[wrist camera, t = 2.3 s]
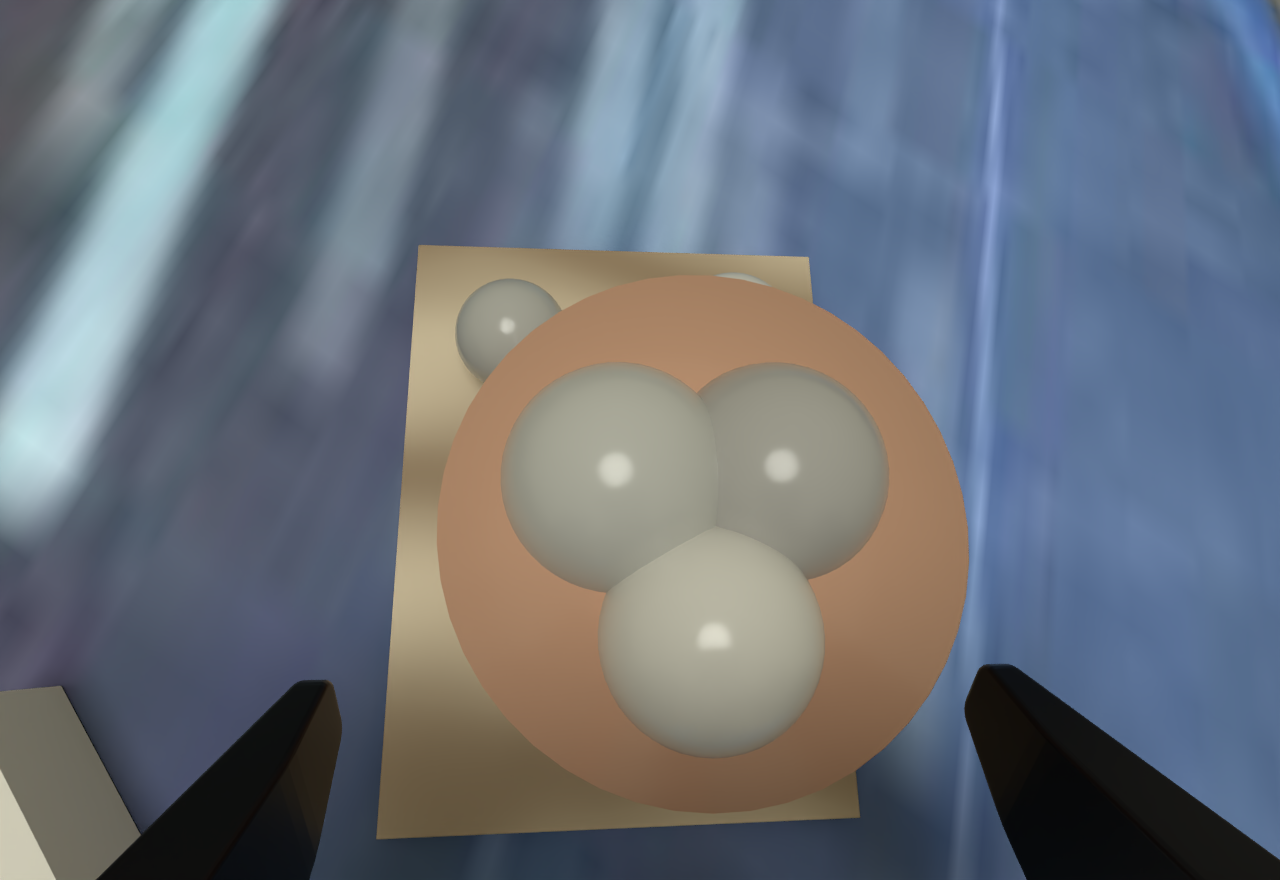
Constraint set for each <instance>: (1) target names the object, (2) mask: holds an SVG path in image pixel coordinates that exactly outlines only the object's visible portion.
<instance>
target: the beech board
mask: <svg viewBox="0 0 1280 880" xmlns="http://www.w3.org/2000/svg"><path fill="white" fill-rule="evenodd" d="M729 272H737V273H745V274H749V275H752V276H755V277H757V278H759V279H761V280H763V281H765V282H766V283H768V284H769V285H771V286H772V287H774V288H776V289H779V290H782V291H784V292H787V293H789V294H792V295H795V296H797V297H800V298H803V299H804V300H806V301H808V302H810V303H812V304H813V300H812V289H811V278H810V267H809V257H787V256H755V255H722V254H690V253H658V252H625V251H593V250H561V249H528V248H496V247H464V246H431V245H419V249H418V263H417V277H416V291H415V305H414V319H413V333H412V347H411V361H410V375H409V389H408V403H407V417H406V431H405V445H404V459H403V473H402V487H401V501H400V515H399V529H398V543H397V557H396V571H395V585H394V599H393V613H392V627H391V641H390V655H389V669H388V683H387V697H386V711H385V725H384V739H383V753H382V767H381V781H380V795H379V809H378V823H377V837H376V839H394V838H417V837H439V836H461V835H483V834H506V833H528V832H550V831H572V830H595V829H617V828H639V827H661V826H684V825H706V824H728V823H750V822H773V821H795V820H817V819H839V818H860V811H859V801H858V790H857V779H856V771H854V772H853V773H851V774H849V775H847V776H846V777H844V778H842V779H840V780H838V781H837V782H835V783H833V784H831V785H830V786H828V787H826V788H824V789H822V790H820V791H817V792H815V793H812V794H809V795H807V796H804V797H801V798H799V799H796V800H794V801H791V802H788V803H785V804H780V805H776V806H771V807H767V808H762V809H758V810H753V811H744V812H730V813H716V814H709V813H696V812H682V811H672V810H668V809H663V808H659V807H655V806H650V805H646V804H641V803H637V802H634V801H631V800H629V799H626V798H623V797H621V796H618V795H615V794H613V793H610V792H607V791H605V790H602V789H600V788H598V787H596V786H594V785H592V784H591V783H589V782H587V781H585V780H583V779H582V778H580V777H578V776H576V775H574V774H572V773H571V772H569V771H567V770H565V769H564V768H563V767H561V766H560V765H559V764H557V763H556V762H555V761H553V760H552V759H551V758H549V757H548V756H547V755H545V754H544V753H543V752H541V751H540V750H539V749H537V748H536V747H535V746H533V745H532V744H531V743H530V742H529V741H528V740H527V739H526V738H525V737H524V736H523V735H522V734H521V733H520V732H519V731H518V730H517V729H516V728H515V727H514V726H513V725H512V724H511V723H510V722H509V721H508V720H507V719H506V717H505V716H504V715H503V713H502V712H501V711H500V709H499V708H498V707H497V706H496V704H495V703H494V702H493V700H492V699H491V698H490V696H489V695H488V694H487V692H486V691H485V690H484V688H483V687H482V685H481V683H480V682H479V680H478V678H477V676H476V675H475V673H474V671H473V669H472V667H471V666H470V664H469V662H468V660H467V658H466V657H465V655H464V653H463V651H462V648H461V646H460V643H459V640H458V638H457V635H456V633H455V630H454V628H453V625H452V623H451V620H450V618H449V614H448V609H447V605H446V601H445V597H444V593H443V589H442V585H441V581H440V571H439V561H438V552H437V517H438V503H439V497H440V491H441V485H442V479H443V473H444V469H445V466H446V463H447V460H448V456H449V453H450V450H451V447H452V443H453V440H454V438H455V435H456V433H457V431H458V429H459V427H460V425H461V422H462V420H463V418H464V416H465V414H466V411H467V409H468V407H469V406H470V404H471V402H472V401H473V399H474V398H475V396H476V395H477V393H478V391H479V390H480V388H481V387H482V385H483V384H484V383H483V382H482V381H480V380H479V379H477V378H476V377H475V376H474V375H473V374H472V373H471V372H470V371H469V370H468V369H467V367H466V366H465V364H464V363H463V361H462V359H461V357H460V355H459V353H458V350H457V346H456V340H455V326H456V320H457V317H458V314H459V311H460V309H461V307H462V305H463V304H464V302H465V301H466V299H467V298H468V297H469V296H470V295H471V294H472V293H473V292H474V291H475V290H477V289H478V288H480V287H481V286H483V285H485V284H487V283H489V282H492V281H495V280H499V279H506V278H514V279H521V280H525V281H528V282H531V283H534V284H536V285H538V286H540V287H541V288H543V289H544V290H545V291H547V292H548V293H549V294H550V295H551V296H552V297H553V298H554V299H555V301H556V302H557V303H558V305H559V306H560V308H561V310H564V309H566V308H568V307H570V306H571V305H573V304H575V303H577V302H579V301H581V300H583V299H585V298H587V297H589V296H592V295H594V294H597V293H600V292H602V291H605V290H608V289H610V288H613V287H616V286H619V285H623V284H628V283H632V282H636V281H640V280H644V279H649V278H658V277H667V276H676V275H711V276H713V275H717V274H721V273H729Z"/></svg>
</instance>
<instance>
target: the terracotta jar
mask: <svg viewBox="0 0 1280 880" xmlns="http://www.w3.org/2000/svg"><path fill="white" fill-rule="evenodd" d="M437 552H438V561H439V571H440V581H441V585H442V589H443V593H444V597H445V601H446V605H447V609H448V614H449V618H450V620H451V623H452V625H453V628H454V630H455V633H456V635H457V638H458V640H459V643H460V646H461V648H462V651H463V653H464V655H465V657H466V658H467V660H468V662H469V664H470V666H471V667H472V669H473V671H474V673H475V675H476V676H477V678H478V680H479V682H480V683H481V685H482V687H483V688H484V690H485V691H486V692H487V694H488V695H489V696H490V698H491V699H492V700H493V702H494V703H495V704H496V706H497V707H498V708H499V709H500V711H501V712H502V713H503V715H504V716H505V717H506V719H507V720H508V721H509V722H510V723H511V724H512V725H513V726H514V727H515V728H516V729H517V730H518V731H519V732H520V733H521V734H522V735H523V736H524V737H525V738H526V739H527V740H528V741H529V742H530V743H531V744H532V745H533V746H535V747H536V748H537V749H539V750H540V751H541V752H543V753H544V754H545V755H547V756H548V757H549V758H551V759H552V760H553V761H555V762H556V763H557V764H559V765H560V766H561V767H563V768H564V769H565V770H567V771H569V772H571V773H572V774H574V775H576V776H578V777H580V778H582V779H583V780H585V781H587V782H589V783H591V784H592V785H594V786H596V787H598V788H600V789H602V790H605V791H607V792H610V793H613V794H615V795H618V796H621V797H623V798H626V799H629V800H631V801H634V802H637V803H641V804H646V805H650V806H655V807H659V808H663V809H668V810H672V811H682V812H696V813H709V814H716V813H730V812H744V811H753V810H758V809H762V808H767V807H771V806H776V805H780V804H785V803H788V802H791V801H794V800H796V799H799V798H801V797H804V796H807V795H809V794H812V793H815V792H817V791H820V790H822V789H824V788H826V787H828V786H830V785H831V784H833V783H835V782H837V781H838V780H840V779H842V778H844V777H846V776H847V775H849V774H851V773H853V772H854V771H856V770H857V769H858V768H860V767H861V766H862V765H864V764H865V763H866V762H867V761H869V760H870V759H871V758H873V757H874V756H875V755H876V754H878V753H879V752H880V751H882V750H883V749H884V748H885V747H886V746H887V745H888V744H889V743H890V742H891V741H892V740H893V739H894V738H895V737H896V736H897V735H898V734H899V733H900V731H901V730H902V729H903V728H904V727H905V726H906V725H907V724H908V723H909V722H910V721H911V719H912V718H913V716H914V715H915V714H916V712H917V711H918V709H919V708H920V707H921V705H922V704H923V703H924V701H925V700H926V698H927V697H928V696H929V694H930V692H931V691H932V689H933V687H934V685H935V683H936V681H937V679H938V677H939V676H940V674H941V672H942V670H943V668H944V666H945V664H946V662H947V659H948V657H949V654H950V651H951V648H952V646H953V643H954V640H955V638H956V635H957V632H958V629H959V625H960V620H961V616H962V611H963V607H964V602H965V598H966V589H967V578H968V567H969V549H968V526H967V520H966V514H965V508H964V501H963V495H962V491H961V488H960V484H959V481H958V477H957V474H956V471H955V467H954V464H953V461H952V458H951V456H950V454H949V451H948V449H947V447H946V444H945V442H944V439H943V437H942V435H941V432H940V430H939V429H938V427H937V425H936V423H935V421H934V420H933V418H932V416H931V414H930V413H929V411H928V409H927V407H926V406H925V404H924V402H923V401H922V399H921V398H920V397H919V395H918V394H917V393H916V391H915V390H914V389H913V387H912V386H911V385H910V383H909V382H908V380H907V379H906V378H905V376H904V375H903V374H902V373H901V372H900V371H899V370H898V369H897V368H896V367H895V366H894V364H893V363H892V362H891V361H890V360H889V359H888V358H887V357H886V356H885V355H884V354H883V353H882V352H881V351H880V350H879V349H878V348H877V347H875V346H874V345H873V344H872V343H871V342H870V341H868V340H867V339H866V338H865V337H864V336H863V335H861V334H860V333H859V332H858V331H857V330H855V329H854V328H852V327H851V326H849V325H848V324H846V323H845V322H843V321H842V320H840V319H839V318H837V317H836V316H834V315H833V314H831V313H830V312H828V311H826V310H824V309H822V308H820V307H818V306H816V305H814V304H812V303H810V302H808V301H806V300H804V299H803V298H800V297H797V296H795V295H792V294H789V293H787V292H784V291H782V290H779V289H776V288H774V287H770V286H766V285H762V284H758V283H754V282H750V281H746V280H742V279H735V278H727V277H719V276H711V275H676V276H667V277H658V278H649V279H644V280H640V281H636V282H632V283H628V284H623V285H619V286H616V287H613V288H610V289H608V290H605V291H602V292H600V293H597V294H594V295H592V296H589V297H587V298H585V299H583V300H581V301H579V302H577V303H575V304H573V305H571V306H570V307H568V308H566V309H564V310H562V311H560V312H558V313H557V314H555V315H554V316H553V317H551V318H550V319H548V320H547V321H546V322H544V323H543V324H541V325H540V326H538V327H537V328H536V329H534V330H533V331H532V332H530V333H529V334H528V335H527V336H526V337H525V338H524V339H523V340H522V341H521V342H520V343H518V344H517V345H516V346H515V347H514V348H513V349H512V350H511V351H510V352H509V353H508V354H507V355H506V356H505V357H504V358H503V360H502V361H501V362H500V363H499V364H498V366H497V367H496V368H495V369H494V370H493V372H492V373H491V374H490V375H489V376H488V378H487V379H486V380H485V382H484V384H483V385H482V387H481V388H480V390H479V391H478V393H477V395H476V396H475V398H474V399H473V401H472V402H471V404H470V406H469V407H468V409H467V411H466V414H465V416H464V418H463V420H462V422H461V425H460V427H459V429H458V431H457V433H456V435H455V438H454V440H453V443H452V447H451V450H450V453H449V456H448V460H447V463H446V466H445V469H444V473H443V479H442V485H441V491H440V497H439V503H438V517H437Z"/></svg>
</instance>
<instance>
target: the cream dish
mask: <svg viewBox="0 0 1280 880" xmlns="http://www.w3.org/2000/svg"><path fill="white" fill-rule="evenodd" d="M139 836H141V835H140V833H139V831H138V829H137V827H136V825H135V823H134V822H133V820H132V818H131V816H130V814H129V812H128V810H127V808H126V807H125V805H124V803H123V801H122V799H121V797H120V795H119V793H118V792H117V790H116V788H115V786H114V784H113V782H112V780H111V778H110V777H109V775H108V773H107V771H106V769H105V767H104V765H103V763H102V762H101V760H100V758H99V756H98V754H97V752H96V750H95V748H94V747H93V745H92V743H91V741H90V739H89V737H88V735H87V733H86V732H85V730H84V728H83V726H82V724H81V722H80V720H79V718H78V717H77V715H76V713H75V711H74V709H73V707H72V705H71V703H70V702H69V700H68V698H67V696H66V694H65V692H64V690H63V688H62V687H61V686H54V687H43V688H33V689H22V690H11V691H0V880H96V879H97V878H98V877H99V876H100V875H101V874H102V873H103V872H104V871H105V870H106V869H107V868H108V867H109V866H110V865H111V864H112V863H113V862H114V861H115V860H116V859H117V858H118V857H119V856H120V855H121V854H122V853H123V852H124V851H125V850H126V849H127V848H128V847H129V846H130V845H131V844H132V843H133V842H134V841H135V840H136V839H137V838H138V837H139Z"/></svg>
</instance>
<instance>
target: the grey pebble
mask: <svg viewBox="0 0 1280 880" xmlns="http://www.w3.org/2000/svg"><path fill="white" fill-rule="evenodd" d="M560 311H562V310H561V308H560V306H559V305H558V303H557V302H556V301H555V299H554V298H553V297H552V296H551V295H550V294H549V293H548V292H547V291H545V290H544V289H543V288H541V287H540V286H538V285H536V284H534V283H531V282H528V281H525V280H521V279H514V278H506V279H499V280H495V281H492V282H489V283H487V284H485V285H483V286H481V287H480V288H478V289H477V290H475V291H474V292H473V293H472V294H471V295H470V296H469V297H468V298H467V299H466V301H465V302H464V304H463V305H462V307H461V309H460V311H459V314H458V317H457V320H456V326H455V340H456V346H457V350H458V353H459V355H460V357H461V359H462V361H463V363H464V364H465V366H466V367H467V369H468V370H469V371H470V372H471V373H472V374H473V375H474V376H475V377H476V378H477V379H479V380H480V381H482V382H483V383H484V382H485V380H486V379H487V378H488V376H489V375H490V374H491V373H492V372H493V370H494V369H495V368H496V367H497V366H498V364H499V363H500V362H501V361H502V360H503V358H504V357H505V356H506V355H507V354H508V353H509V352H510V351H511V350H512V349H513V348H514V347H515V346H516V345H517V344H518V343H520V342H521V341H522V340H523V339H524V338H525V337H526V336H527V335H528V334H529V333H530V332H532V331H533V330H534V329H536V328H537V327H538V326H540V325H541V324H543V323H544V322H546V321H547V320H548V319H550V318H551V317H553V316H554V315H555V314H557V313H558V312H560Z"/></svg>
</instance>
